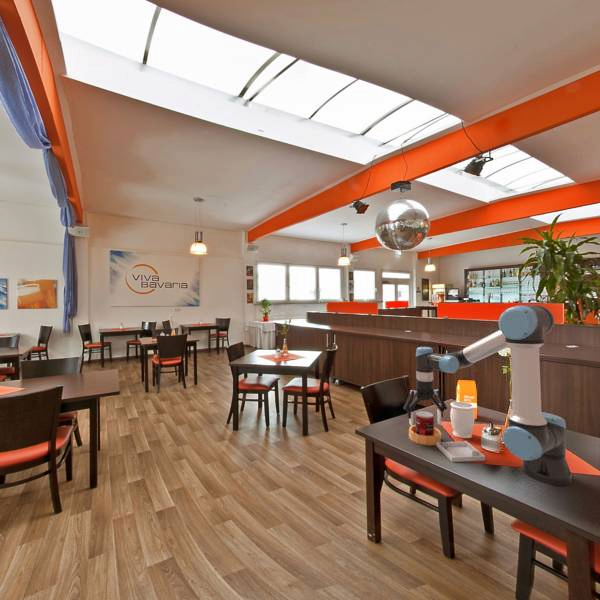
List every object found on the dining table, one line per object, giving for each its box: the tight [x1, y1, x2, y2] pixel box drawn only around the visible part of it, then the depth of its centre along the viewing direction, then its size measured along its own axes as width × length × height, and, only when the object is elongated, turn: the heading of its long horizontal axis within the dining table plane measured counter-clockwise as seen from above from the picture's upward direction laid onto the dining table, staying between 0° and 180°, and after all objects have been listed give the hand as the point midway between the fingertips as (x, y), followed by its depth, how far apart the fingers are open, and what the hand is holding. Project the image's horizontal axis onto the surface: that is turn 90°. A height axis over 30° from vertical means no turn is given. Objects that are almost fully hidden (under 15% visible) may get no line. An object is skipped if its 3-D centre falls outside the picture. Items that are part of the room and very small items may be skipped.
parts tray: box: [435, 440, 486, 463], centre depth 144 cm, size 14×14×2 cm
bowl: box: [408, 424, 442, 446], centre depth 158 cm, size 14×14×4 cm
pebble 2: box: [472, 450, 481, 456], centre depth 139 cm, size 3×3×3 cm
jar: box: [449, 401, 476, 439], centre depth 162 cm, size 11×10×15 cm
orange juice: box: [456, 379, 478, 420], centre depth 187 cm, size 8×9×20 cm
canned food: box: [415, 410, 435, 436], centre depth 158 cm, size 8×8×11 cm
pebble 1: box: [441, 441, 448, 449], centre depth 148 cm, size 3×3×3 cm
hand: (425, 424), depth 158 cm, fingers open, 13 cm apart
